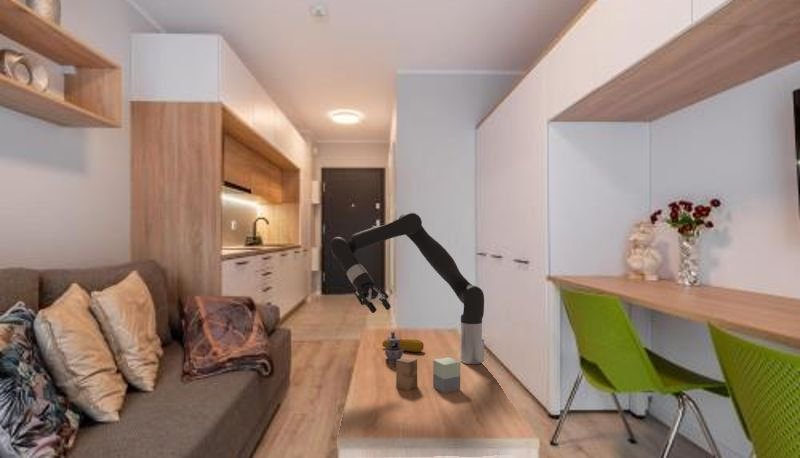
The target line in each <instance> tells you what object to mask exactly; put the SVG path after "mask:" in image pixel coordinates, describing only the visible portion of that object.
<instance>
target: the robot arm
mask: <svg viewBox="0 0 800 458" xmlns="http://www.w3.org/2000/svg"><path fill="white" fill-rule="evenodd" d="M422 223H423V221H422V218H421V216H419V215H418V214H417V213H415V212H411V211H410V212H405V213H404V212H403V213H402V214H401V215H400V216H399V217H398V219H395V220H394V221H391V222H389V223H386V224H383V225H380V226H376V227H371V228H367V229H365V230H362V231H358V232H356V233H354V234H352V235H351V238H350V239H349V240H348V241H346V239H344V238H343V237H341V236H335V237H333V238H332V239H331V240H330V242H329V249H330V251H331V255H332V256H333V257H334V258H335V259H336V260H338V262H339V263H340V266H341V268H342V270H343V271H344V273H345V274H346V276H347V277H348V280H349V281H350V283H351V284H352V285H353V287H354V289H355V290H356V291H355V292H354V295H355V297H356V299H357V300H358V301H359V303H360V305H361V306H365V307H367V308H368V310H369V311H370V312H371V313H372V314H375V313H376V311H377V310H378V309H377V307H376V306H375V305H374V303H373V302H372V300H375V301H379V302H380V303H381V304H382V305H383V307H384V308H385V311H389V310H390V309H391V303H389V301H388V300H387V299H388V298H389V295H388V294H387V292H386V291H385V290H384V288H383V287H382V286H381V285H379V286H378V287H376V286H375V282H374V279H373V278H372V277H371V275H370V274H369V272H368V271H367V270H366V268H365V267H364V266H363V265H362V264H361V263H360V261H359V260H358V258H357V257H356V256H355V253H358V251H360V250H363V249H367V248H368V247H369V248H370V247H372V246H374V245H377V244H380V243H382V242H384V241H386V240H390V239H394V238H396V237H397V238H398V237H401V236H406V237H407V238H408V239H409V240H410V241H411V242H412V243H413V244H414V245H415V246H416V247H417V248H418V250H419V251H420V253H421V254H422V256H423V257H424V259H425V260H426V261H427V262H428V264H429V265H430V266H431V267H432V268H433V270H434V271H435V272H436V273H437V274H438V275H439V276H440V277H441V278H442V279H443V280H444V281H445V282H446V283H447V284H448V286H450V288H451V290H452V291H453V293H455V295H456V297H457V298H458V299H459V301H460V302H461V303H462V304H463V312H462V314H461V315H460V363H463V364H467V365H479V364H481V363H484V362H485V341H484V339H483V318H484V315H485V314H484V313H485V295H484V292H483V290H482V289H481V288H480V286H476V285H474V284H472V283H470V282H469V281H468V280H467V279H466V278H465V277H464V275H463V274H462V273H461V272H460V270H459V267H458V266H457V263H456V262H455V259H454V258H453V257H452V256H451V254H450V253H449V252H448V251H447V249H446V248H444V247H443V246H442V244H440V242H438V241H437V240H436V239H434V237H432V236H431V235H430V234H429V233H428V232H427V231H426V229H425V228H424V227H423V224H422Z"/></svg>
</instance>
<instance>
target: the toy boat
mask: <svg viewBox="0 0 800 458" xmlns="http://www.w3.org/2000/svg"><path fill="white" fill-rule="evenodd" d="M387 339H388V342H389V348H385V347H384V355H385V356H386V357H387V360H388V361H387V362H388V363H390V364H396V360H398V359H400V358H403V357H402V356H403V354H404V351H403V349H402V350H400V341H401V339H402V338H401V337H399V336H398V335H397V336H396V332H395V331H394V330H392V331H391V332H390V336H387ZM392 343H395V344H394V345H392Z"/></svg>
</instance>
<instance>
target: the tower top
mask: <svg viewBox="0 0 800 458" xmlns="http://www.w3.org/2000/svg"><path fill="white" fill-rule="evenodd" d="M432 365H433V366H432V368H433V369H432V372H433V373H432V375H433V374H435V375H437V376H439V377H441V378H443V379H448V378H453V377H458V376H460V377H461V361H458V360H457V359H454V358H452V357H443V358H436V359H432Z"/></svg>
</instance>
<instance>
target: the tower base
mask: <svg viewBox="0 0 800 458" xmlns="http://www.w3.org/2000/svg"><path fill="white" fill-rule="evenodd" d="M432 384H433V385H432V388H433V389H435V390H437V391H440V392H441V393H442V394H448V393H452V392H458V391H461V375H460V376H458V377H453V378H448V379H443V378H441V377H439V376H437V375H435V374H433V373H432Z"/></svg>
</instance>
